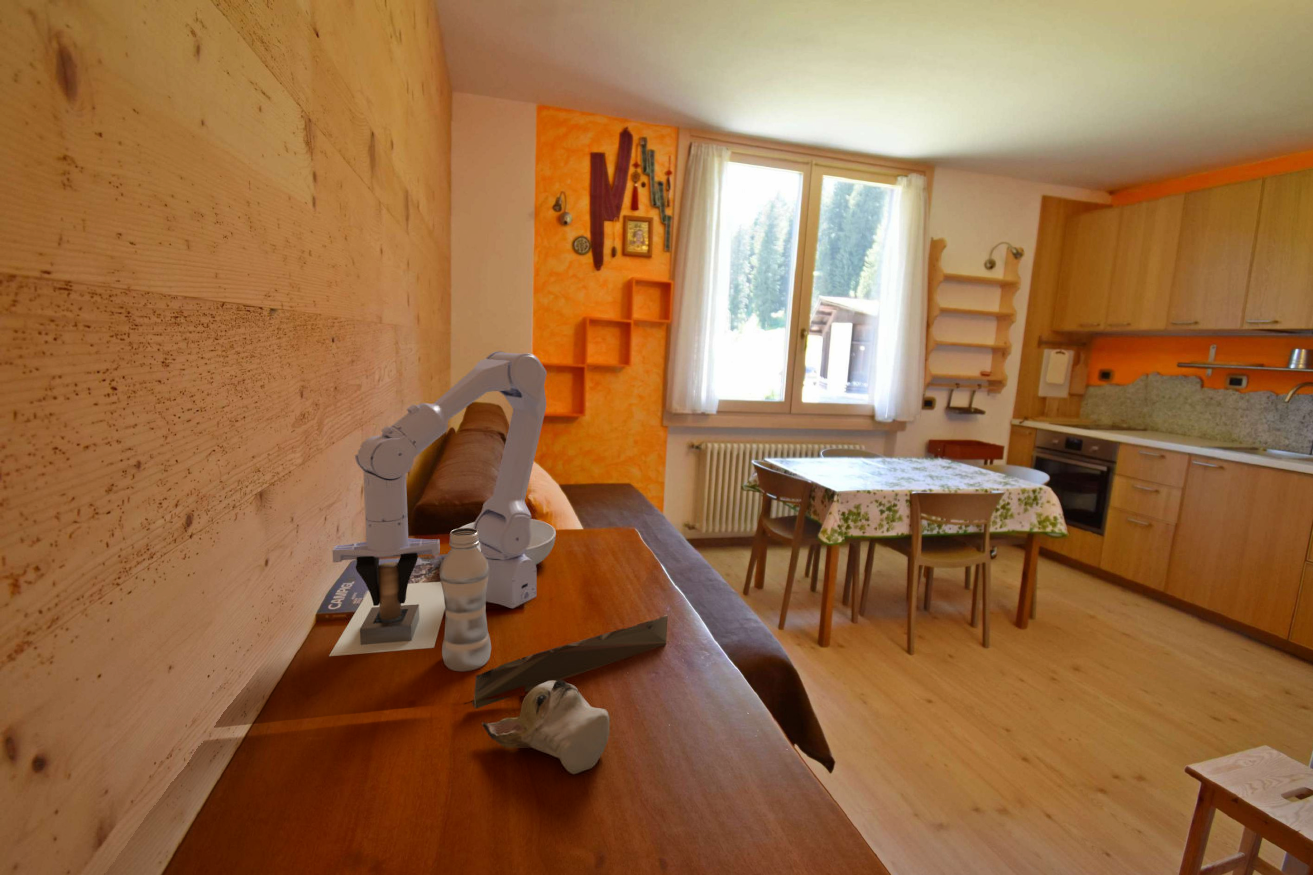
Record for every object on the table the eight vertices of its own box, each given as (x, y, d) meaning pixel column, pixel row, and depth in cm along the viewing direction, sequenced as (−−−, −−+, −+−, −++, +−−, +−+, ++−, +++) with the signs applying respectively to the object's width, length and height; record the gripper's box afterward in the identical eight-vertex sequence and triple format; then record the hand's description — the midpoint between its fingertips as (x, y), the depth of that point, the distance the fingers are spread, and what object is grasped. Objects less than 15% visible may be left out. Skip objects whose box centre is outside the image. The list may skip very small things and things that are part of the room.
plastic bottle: (477, 682, 78) (475, 542, 74) (432, 675, 79) (428, 536, 76) (499, 657, 84) (498, 527, 81) (457, 651, 85) (454, 522, 82)
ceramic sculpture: (569, 727, 56) (475, 679, 65) (571, 808, 57) (478, 750, 66) (636, 679, 65) (544, 643, 73) (637, 750, 66) (546, 706, 74)
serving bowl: (429, 575, 112) (428, 541, 111) (490, 541, 132) (489, 512, 131) (523, 592, 106) (523, 556, 105) (572, 554, 126) (572, 524, 125)
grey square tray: (372, 622, 91) (371, 607, 90) (419, 618, 92) (419, 604, 92) (360, 644, 84) (359, 628, 84) (411, 640, 86) (410, 625, 85)
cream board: (371, 590, 104) (371, 585, 104) (452, 586, 107) (452, 581, 107) (329, 662, 81) (328, 655, 81) (434, 653, 84) (433, 647, 84)
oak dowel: (405, 613, 88) (404, 564, 87) (388, 621, 86) (386, 570, 85) (392, 609, 90) (390, 560, 89) (375, 616, 87) (373, 566, 86)
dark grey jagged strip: (661, 642, 90) (662, 610, 90) (666, 645, 89) (667, 613, 88) (472, 705, 73) (471, 666, 72) (475, 710, 72) (474, 671, 71)
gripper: (440, 506, 91) (442, 586, 93) (338, 511, 87) (343, 595, 89) (437, 519, 85) (439, 605, 87) (326, 525, 80) (332, 615, 82)
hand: (390, 601), depth 87 cm, fingers closed on oak dowel, 3 cm apart
